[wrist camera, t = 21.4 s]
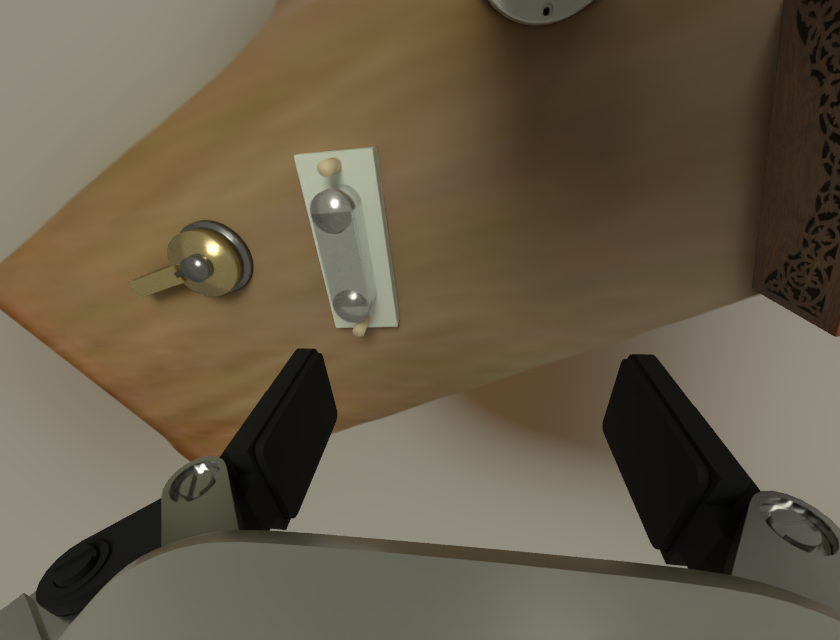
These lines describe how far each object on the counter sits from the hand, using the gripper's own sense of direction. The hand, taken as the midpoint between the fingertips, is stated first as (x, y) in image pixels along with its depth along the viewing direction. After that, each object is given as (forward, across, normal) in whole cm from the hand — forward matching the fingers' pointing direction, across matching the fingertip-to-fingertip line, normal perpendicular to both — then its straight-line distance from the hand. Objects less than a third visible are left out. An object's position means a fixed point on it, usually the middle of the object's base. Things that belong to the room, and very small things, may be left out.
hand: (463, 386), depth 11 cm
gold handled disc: (+28, +34, +7) cm, 44 cm away
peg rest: (+29, +12, +5) cm, 32 cm away
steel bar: (+27, +12, +5) cm, 30 cm away
